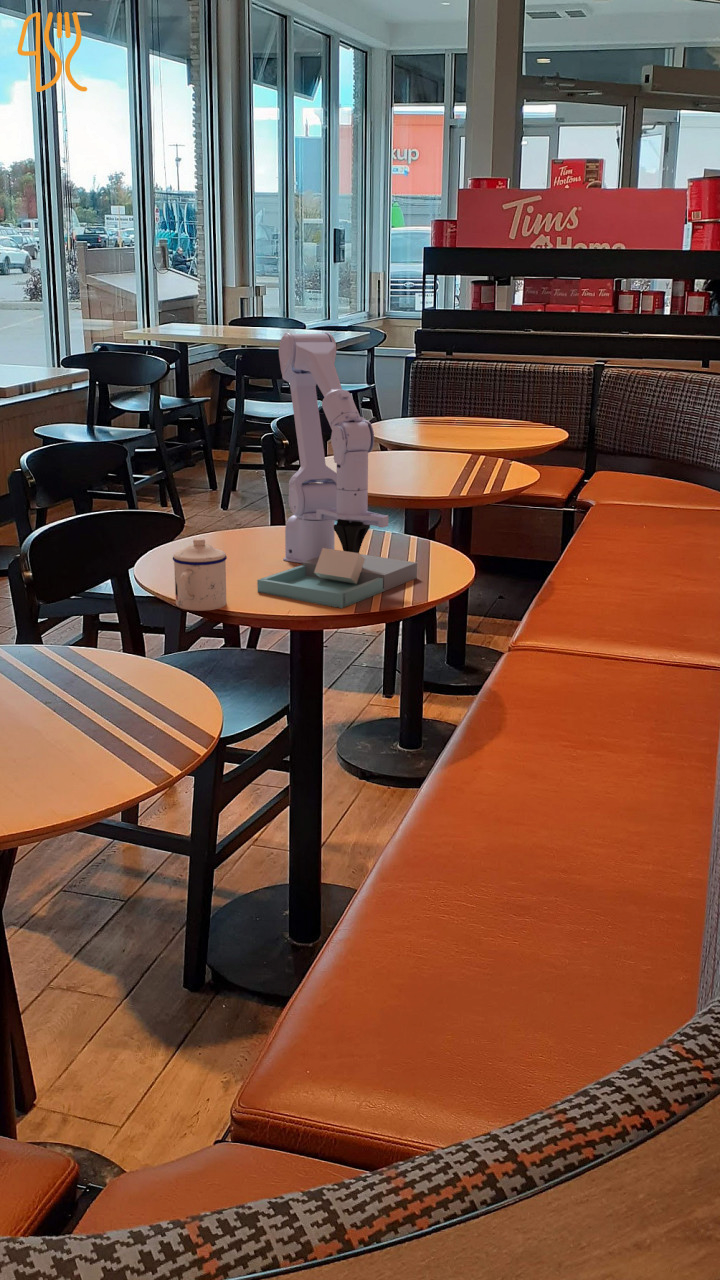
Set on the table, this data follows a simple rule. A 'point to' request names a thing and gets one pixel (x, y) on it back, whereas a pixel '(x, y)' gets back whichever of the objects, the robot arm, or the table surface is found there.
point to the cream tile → (339, 565)
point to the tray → (317, 588)
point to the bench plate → (377, 570)
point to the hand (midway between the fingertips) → (351, 561)
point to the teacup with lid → (200, 577)
